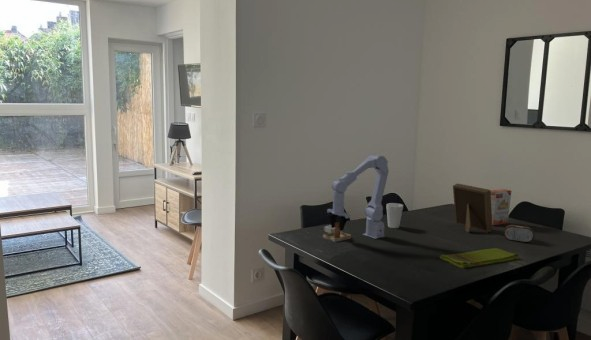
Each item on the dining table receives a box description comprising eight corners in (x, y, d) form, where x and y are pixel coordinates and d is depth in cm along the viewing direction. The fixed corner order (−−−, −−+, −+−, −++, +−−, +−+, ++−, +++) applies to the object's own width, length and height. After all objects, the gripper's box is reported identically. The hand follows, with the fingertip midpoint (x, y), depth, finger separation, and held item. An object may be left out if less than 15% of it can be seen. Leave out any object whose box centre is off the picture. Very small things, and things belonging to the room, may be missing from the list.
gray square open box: (340, 232, 260) (340, 227, 260) (332, 234, 256) (332, 229, 256) (332, 230, 265) (332, 224, 265) (324, 231, 261) (324, 226, 261)
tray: (351, 238, 249) (352, 235, 249) (335, 242, 242) (335, 239, 241) (338, 234, 257) (338, 230, 256) (322, 238, 249) (322, 234, 249)
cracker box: (493, 226, 282) (496, 192, 279) (485, 223, 287) (488, 190, 284) (508, 223, 289) (512, 190, 286) (500, 221, 294) (503, 188, 291)
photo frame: (460, 222, 288) (463, 182, 284) (492, 231, 270) (496, 188, 266) (444, 226, 280) (447, 184, 276) (476, 235, 262) (480, 191, 258)
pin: (341, 237, 249) (341, 223, 248) (337, 238, 247) (337, 224, 246) (337, 236, 251) (337, 221, 250) (333, 237, 249) (333, 222, 248)
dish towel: (438, 258, 223) (438, 252, 223) (494, 250, 238) (494, 244, 238) (461, 269, 210) (462, 262, 209) (519, 260, 224) (520, 253, 224)
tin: (533, 242, 252) (535, 227, 250) (533, 244, 249) (535, 228, 248) (503, 238, 258) (504, 223, 257) (502, 239, 255) (504, 224, 254)
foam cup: (400, 225, 279) (402, 203, 277) (402, 229, 270) (404, 207, 268) (384, 224, 280) (385, 202, 278) (386, 228, 271) (387, 206, 269)
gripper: (323, 201, 249) (322, 226, 251) (342, 207, 238) (341, 233, 240) (333, 200, 254) (332, 224, 256) (352, 205, 243) (351, 230, 245)
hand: (337, 228), depth 248 cm, fingers open, 6 cm apart
